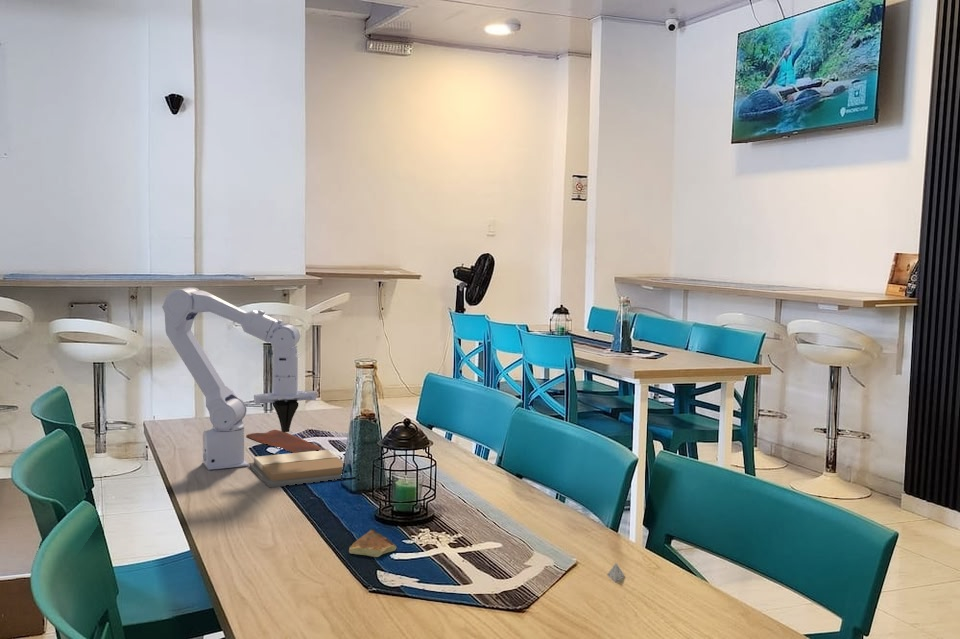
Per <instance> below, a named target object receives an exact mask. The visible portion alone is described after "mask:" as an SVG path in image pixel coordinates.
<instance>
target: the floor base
mask: <svg viewBox="0 0 960 639" xmlns="http://www.w3.org/2000/svg"><path fill="white" fill-rule="evenodd" d="M343 462H344V461H343V460H342V459H341V458H339V457H338V458H331V459H321V460H311V461H302V462H292V463H282V464H272V465H263V471H262V470H261V469H260V468H259V467H258V466H257V465H256V464H255V463H254V461H253V462H249V466H248V467H249V468H250V469H251V470H252V471H253V472H254V473H255V474H256V475H257V476H258V478H259V479H260V480H262V482H263V483H264V484H265V485H266V486H267V487H268V488H270V489H271V488H278V487H287V486H286V485H289V486H296V485H295V484H297V485H304V484H303V483H306V484H311V483H312V484H314V483H313V482H315V483H320V481H324V482H329V481H328V480H332V481H338V480H337V479H340V478H341V474H342V468H343ZM334 479H335V480H334Z"/></svg>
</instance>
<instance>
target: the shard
mask: <svg viewBox="0 0 960 639" xmlns="http://www.w3.org/2000/svg"><path fill="white" fill-rule="evenodd" d="M396 550H397V545H396V544H395V543H393V542H392V541H390V540H389V539H388V538H387V537H386V536H384V535H383V534H381V533H379V532H377V531H375V529H373V528H370V530H369V531H367V532H366V533H365V534H363V535H362V536H360V538H358V539H357V540H355V541H354V542H353V543H352V545H350V546H349V549H348V552H349V554H352V555H353V554H354V555H362V556H368V557H375V558H380V557H381V556H382V555H384V554H387V553H391V552H394V551H396Z"/></svg>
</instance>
